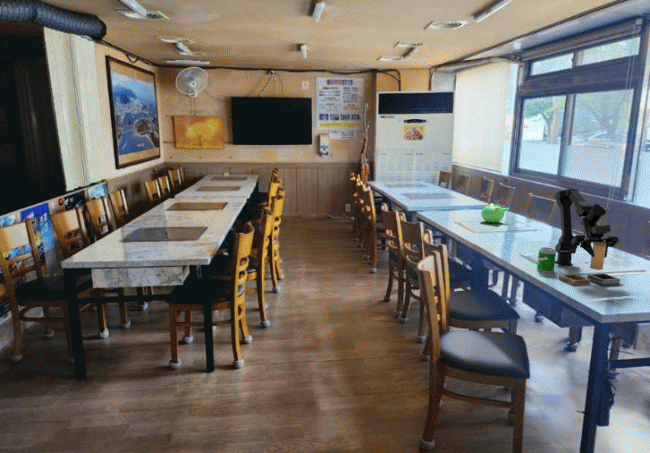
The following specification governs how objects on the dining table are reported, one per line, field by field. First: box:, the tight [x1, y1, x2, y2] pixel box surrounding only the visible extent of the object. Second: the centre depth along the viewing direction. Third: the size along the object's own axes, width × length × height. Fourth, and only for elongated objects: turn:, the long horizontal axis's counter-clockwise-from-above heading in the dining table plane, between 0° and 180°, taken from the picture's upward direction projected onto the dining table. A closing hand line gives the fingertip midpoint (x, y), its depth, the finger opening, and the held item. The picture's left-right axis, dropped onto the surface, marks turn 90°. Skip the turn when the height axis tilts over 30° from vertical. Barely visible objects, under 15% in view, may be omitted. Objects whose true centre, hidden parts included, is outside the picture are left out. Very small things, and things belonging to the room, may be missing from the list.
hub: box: [586, 272, 624, 288], centre depth 205 cm, size 12×12×4 cm
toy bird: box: [481, 202, 510, 224], centre depth 346 cm, size 18×17×15 cm
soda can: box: [536, 247, 557, 273], centre depth 222 cm, size 8×8×12 cm
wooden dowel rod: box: [589, 241, 606, 271], centre depth 203 cm, size 5×5×12 cm
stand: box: [557, 273, 592, 287], centre depth 206 cm, size 10×10×3 cm
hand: (599, 256), depth 201 cm, fingers closed on wooden dowel rod, 5 cm apart
